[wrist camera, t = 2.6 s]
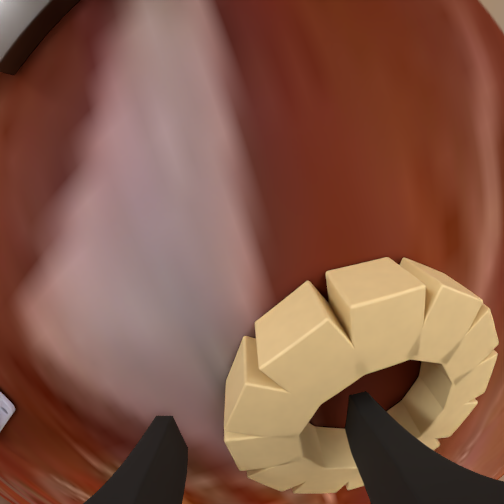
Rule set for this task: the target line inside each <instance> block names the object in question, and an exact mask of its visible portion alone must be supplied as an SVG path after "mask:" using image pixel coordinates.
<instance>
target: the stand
mask: <svg viewBox="0 0 504 504" xmlns="http://www.w3.org/2000/svg"><path fill="white" fill-rule="evenodd" d="M78 1H79V0H0V72H3V73H7V74H11V75H15V74H16V72H17V71H18V69H19V68H20V67H21V65H22V64H23V63H24V61H25V60H26V59H27V57H28V56H29V55H30V54H31V52H32V51H33V50H34V49H35V47H36V46H37V45H38V44H39V43H40V41H41V40H42V39H43V38H44V37H45V36H46V34H47V33H48V32H49V31H50V30H51V29H52V28H53V27H54V26H55V24H56V23H57V22H58V21H59V20H60V19H61V18H62V17H63V16H64V15H65V14H66V13H67V12H68V11H69V10H70V9H71V8H72V7H73V6H74V5H75V4H76V3H77V2H78Z"/></svg>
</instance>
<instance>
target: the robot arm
mask: <svg viewBox="0 0 504 504" xmlns="http://www.w3.org/2000/svg"><path fill="white" fill-rule="evenodd" d="M14 411H15V407H14V405H13V404H12V402H11V401H10V400H9V399H8V398H6V397H5V396H4V395H3V394H2V393H1V392H0V432H1V430H2V429H3V427H4V426H5V424H6V423H7V421H8V420H9V418H10V417H11V416H12V414H13V413H14ZM345 431H346V435H347V439H348V443H349V447H350V450H351V454H352V456H353V459H354V461H355V464H356V466H357V469H358V471H359V474H360V476H361V478H362V481H363V483H364V486H365V488H366V491H367V493H368V496H369V499H370V502H371V504H504V482H503V481H499V480H495V479H492V478H489V477H486V476H483V475H480V474H478V473H475V472H473V471H471V470H468V469H466V468H464V467H462V466H459V465H457V464H456V463H454V462H452V461H450V460H448V459H446V458H445V457H443V456H441V455H440V454H438V453H436V452H435V451H433V450H432V449H430V448H429V447H428V446H426V445H425V444H423V443H422V442H421V441H420V440H418V439H417V438H416V437H414V436H413V435H412V434H411V433H409V432H408V431H407V430H406V429H405V428H404V427H402V426H401V425H400V424H399V423H398V422H397V421H396V420H395V419H393V418H392V417H391V416H390V415H389V414H388V413H387V412H386V411H385V410H384V409H383V408H382V407H381V406H380V405H379V404H378V403H377V402H376V401H375V400H374V399H373V398H372V397H371V396H370V394H369V393H367V392H366V391H365V392H361V393H357V394H353V395H349V403H348V411H347V419H346V426H345ZM187 461H188V447H187V445H186V443H185V441H184V439H183V437H182V435H181V433H180V431H179V429H178V427H177V424H176V422H175V420H174V418H173V416H156V417H155V419H154V420H153V422H152V423H151V424H150V426H149V427H148V429H147V430H146V432H145V433H144V435H143V436H142V438H141V439H140V441H139V442H138V444H137V445H136V446H135V448H134V449H133V450H132V452H131V453H130V455H129V456H128V457H127V459H126V460H125V461H124V462H123V464H122V465H121V466H120V467H119V468H118V470H117V471H116V472H115V473H114V474H113V476H112V477H111V478H110V479H109V480H108V481H107V482H106V483H105V484H104V485H103V486H102V487H101V488H100V489H99V490H98V491H97V492H96V493H95V494H94V495H93V496H92V497H91V498H89V499H88V500H87V501H86V502H85V503H83V504H182V500H183V494H184V488H185V481H186V475H187Z"/></svg>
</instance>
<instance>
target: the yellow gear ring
mask: <svg viewBox="0 0 504 504" xmlns="http://www.w3.org/2000/svg"><path fill="white" fill-rule="evenodd" d="M326 283H327V292H328V301H329V303H328V302H327V300H326V299H325V298H324V297H323V296H322V295H321V294H320V292H319V291H318V290H317V289H316V288H315V287H314V286H313V284H312V283H311V282H310V281H306V282H305V283H303V284H302V285H301V286H300V287H299V288H297V289H296V290H295V291H294V292H292V293H291V294H290V295H289V296H287V297H286V298H285V299H284V300H282V301H281V302H280V303H279V304H277V305H276V306H275V307H274V308H272V309H271V310H270V311H269V312H267V313H266V314H265V315H263V316H262V317H261V318H260V319H258V320H257V321H256V322H255V333H256V338H252V337H248V336H244V337H243V339H242V342H241V344H240V347H239V349H238V352H237V354H236V357H235V359H234V362H233V365H232V367H231V370H230V372H229V375H228V377H227V380H226V387H225V410H224V442H225V444H226V446H227V448H228V450H229V452H230V453H231V455H232V457H233V459H234V461H235V463H236V465H237V467H238V469H239V470H240V471H245V470H247V477H248V478H250V479H252V480H254V481H256V482H259V483H261V484H264V485H266V486H269V487H271V488H274V489H276V490H279V491H285V490H287V489H290V488H292V491H293V493H336V492H337V491H338V490H339V489H340V488H342V487H343V486H344V485H345V484H346V488H347V490H351V489H354V488H358V487H361V486H364V483H363V481H362V478H361V476H360V474H359V471H358V469H357V466H356V464H355V461H354V459H353V456H352V454H351V450H350V447H349V443H348V439H347V435H346V431H345V429H341V428H326V427H315V426H313V425H312V424H310V423H309V421H310V420H311V418H312V417H313V415H314V414H315V412H316V411H317V409H318V408H319V406H320V405H321V404H322V403H324V402H325V401H327V400H329V399H330V398H332V397H333V396H335V395H336V394H338V393H339V392H341V391H342V390H344V389H345V388H346V387H348V386H349V385H351V384H352V383H354V382H355V381H356V380H358V379H359V378H361V377H362V376H363V375H365V374H369V373H372V372H375V371H378V370H381V369H384V368H387V367H390V366H393V365H396V364H399V363H402V362H405V361H407V360H416V361H421V367H420V373H419V377H418V378H417V380H416V381H415V383H414V384H413V385H412V387H411V388H410V390H409V391H408V392H407V394H406V395H405V397H404V398H403V399H402V400H401V401H400V402H399V403H397V404H396V405H395V406H393V407H392V408H390V409H389V410H388V411H386V412H387V413H388V414H389V415H390V416H391V417H392V418H393V419H395V420H396V421H397V422H398V423H399V424H400V425H401V426H402V427H404V428H405V429H406V430H407V431H408V432H409V433H411V434H412V435H413V436H414V437H416V438H417V439H418V440H420V441H421V442H422V443H423V444H425V445H426V446H428V447H429V448H430V449H432V450H434V449H436V448H437V447H439V446H440V443H439V441H438V439H437V438H444V437H450V436H451V435H452V434H453V433H454V432H455V430H456V429H457V428H458V427H459V426H460V425H461V423H462V422H463V421H464V420H465V419H466V417H467V416H468V415H469V414H470V412H471V411H472V410H473V409H474V407H475V406H476V405H477V403H478V402H477V401H476V399H475V398H476V397H478V396H479V395H481V394H483V393H484V392H485V390H486V387H487V385H488V382H489V379H490V377H491V374H492V371H493V368H494V365H495V362H496V359H497V355H498V353H497V352H496V351H494V350H493V349H494V348H495V347H496V346H497V345H498V344H499V342H498V338H497V333H496V329H495V325H494V321H493V318H492V314H491V311H490V308H488V307H487V306H486V305H484V304H483V300H482V299H481V298H479V297H478V296H476V295H475V294H474V293H472V292H471V291H469V290H468V289H466V288H465V287H463V286H462V285H461V284H459V283H458V282H456V281H455V280H453V279H452V278H450V277H449V276H447V275H446V274H444V273H442V272H439V271H437V270H434V269H432V268H430V267H427V266H425V265H422V264H420V263H417V262H415V261H412V260H410V259H407V258H402V261H401V263H400V265H398V264H397V263H396V262H394V261H393V260H392V259H390V258H389V257H385V258H381V259H377V260H372V261H368V262H364V263H360V264H356V265H351V266H347V267H343V268H338V269H334V270H329V271H327V272H326Z"/></svg>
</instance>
